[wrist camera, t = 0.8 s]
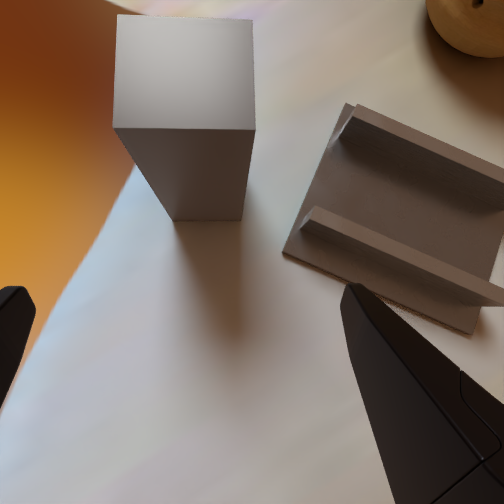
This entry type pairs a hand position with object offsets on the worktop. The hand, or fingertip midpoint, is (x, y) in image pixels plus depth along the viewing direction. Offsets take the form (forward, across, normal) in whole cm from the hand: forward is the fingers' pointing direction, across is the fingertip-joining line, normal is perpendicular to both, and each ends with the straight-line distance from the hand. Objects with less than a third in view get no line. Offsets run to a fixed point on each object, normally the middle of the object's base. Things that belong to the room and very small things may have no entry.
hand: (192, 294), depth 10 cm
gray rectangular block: (+16, 0, +5) cm, 17 cm away
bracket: (+14, -14, +6) cm, 21 cm away
